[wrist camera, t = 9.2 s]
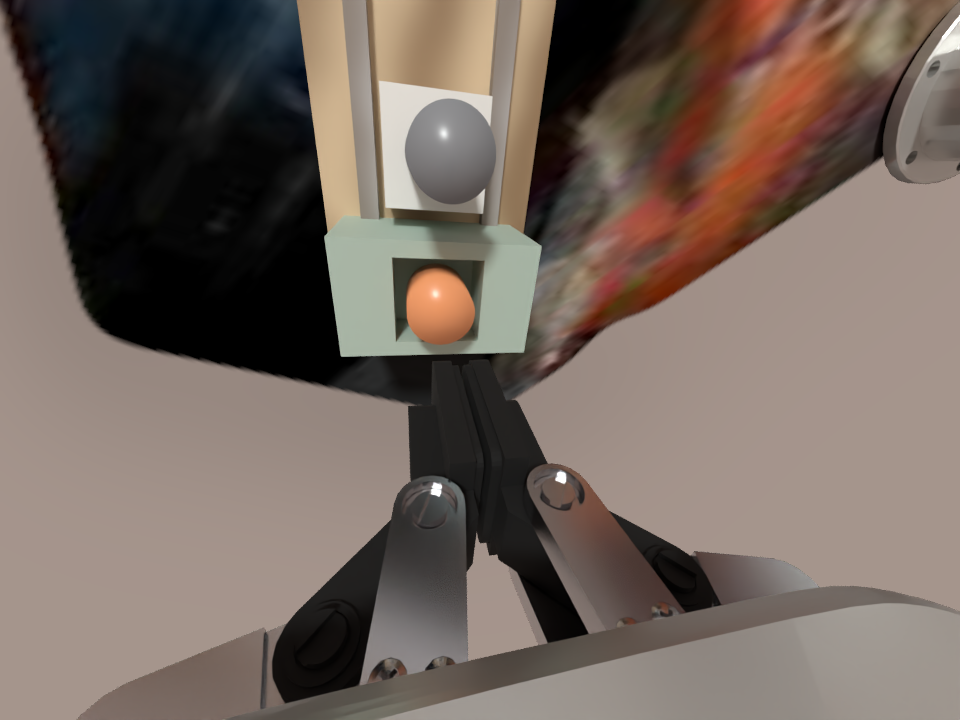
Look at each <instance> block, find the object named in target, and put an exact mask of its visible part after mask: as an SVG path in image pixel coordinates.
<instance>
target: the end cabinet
mask: <svg viewBox="0 0 960 720" xmlns="http://www.w3.org/2000/svg"><path fill="white" fill-rule="evenodd" d="M324 237H325V245H326V252H327V259H328V266H329V273H330V280H331V288H332V295H333V302H334V309H335V316H336V323H337V331H338V338H339V345H340V352H341V357H344V356H387V355H431V354H474V353H518V352H524V348H525V342H526V336H527V330H528V324H529V318H530V312H531V307H532V301H533V295H534V289H535V283H536V277H537V271H538V265H539V259H540V253H541V247H542V246H540V245H539V244H537V243H536V242H534V241H533V240H531V239H530V238H528V237H527V236H525V235H524V234H522V233H521V232H519V231H518V230H516V229H515V228H513V227H512V226H510V225H503V224H498V225H497V226H483V225H481V224H479V223H468V222H451V221H434V220H416V219H399V218H382V217H380V218H379V220H377V219H361V216H347V215H344V216H343V217H342V218H341V219H340V220H339V221H338V222H337V223H336V225H335V226H334V227H333V228H332V229H331V230H330V231H329V232H328V233H327V234H326V235H325V236H324ZM432 263H439V264H444V265H447V266H449V267H451V268H453V269H454V270H455V271H457V272H458V274H459V275H460V276H461V278H462V280H463V282H464V284H465V286H466V288H467V290H468V292H469V294H470V296H471V298H472V301H473V303H474V307H475V318H474V322H473V324H472V326H471V328H470V330H469V331H468V332H467V333H466V334H465V335H464V336H463V337H462V338H461V339H459V340H457V341H455V342H453V343H449V344H444V345H436V344H431V343H428V342H425V341H423V340H421V339H420V338H419V337H417V336H416V335H415V334H414V332H413V331H412V330H411V328H410V326H409V324H408V320H407V305H406V287H407V283H408V281H409V279H410V277H411V275H412V274H413V273H414V272H415V271H416V270H417V269H419V268H420V267H422V266H424V265H427V264H432Z"/></svg>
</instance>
